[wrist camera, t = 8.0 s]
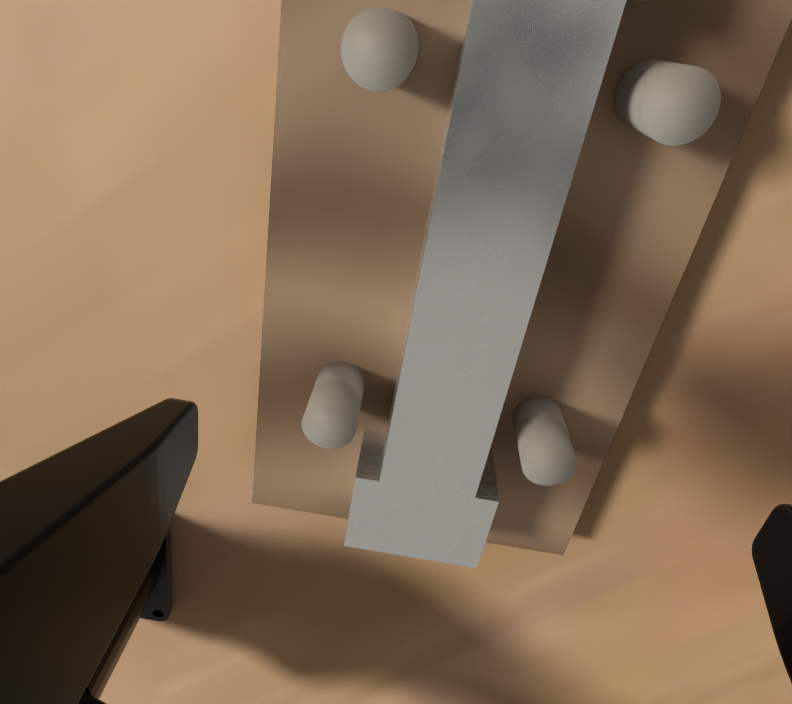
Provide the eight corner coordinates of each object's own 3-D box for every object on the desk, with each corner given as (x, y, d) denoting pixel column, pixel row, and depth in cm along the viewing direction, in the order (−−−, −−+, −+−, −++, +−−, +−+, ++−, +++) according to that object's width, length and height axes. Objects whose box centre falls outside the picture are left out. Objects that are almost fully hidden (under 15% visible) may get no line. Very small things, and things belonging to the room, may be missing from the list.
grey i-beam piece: (473, 514, 22) (476, 568, 20) (353, 493, 22) (343, 545, 20) (681, -161, 13) (731, -199, 10) (472, -202, 13) (479, -249, 10)
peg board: (557, 526, 24) (576, 611, 21) (262, 476, 24) (232, 554, 20) (840, -176, 13) (979, -245, 10) (314, -279, 13) (268, -386, 10)
